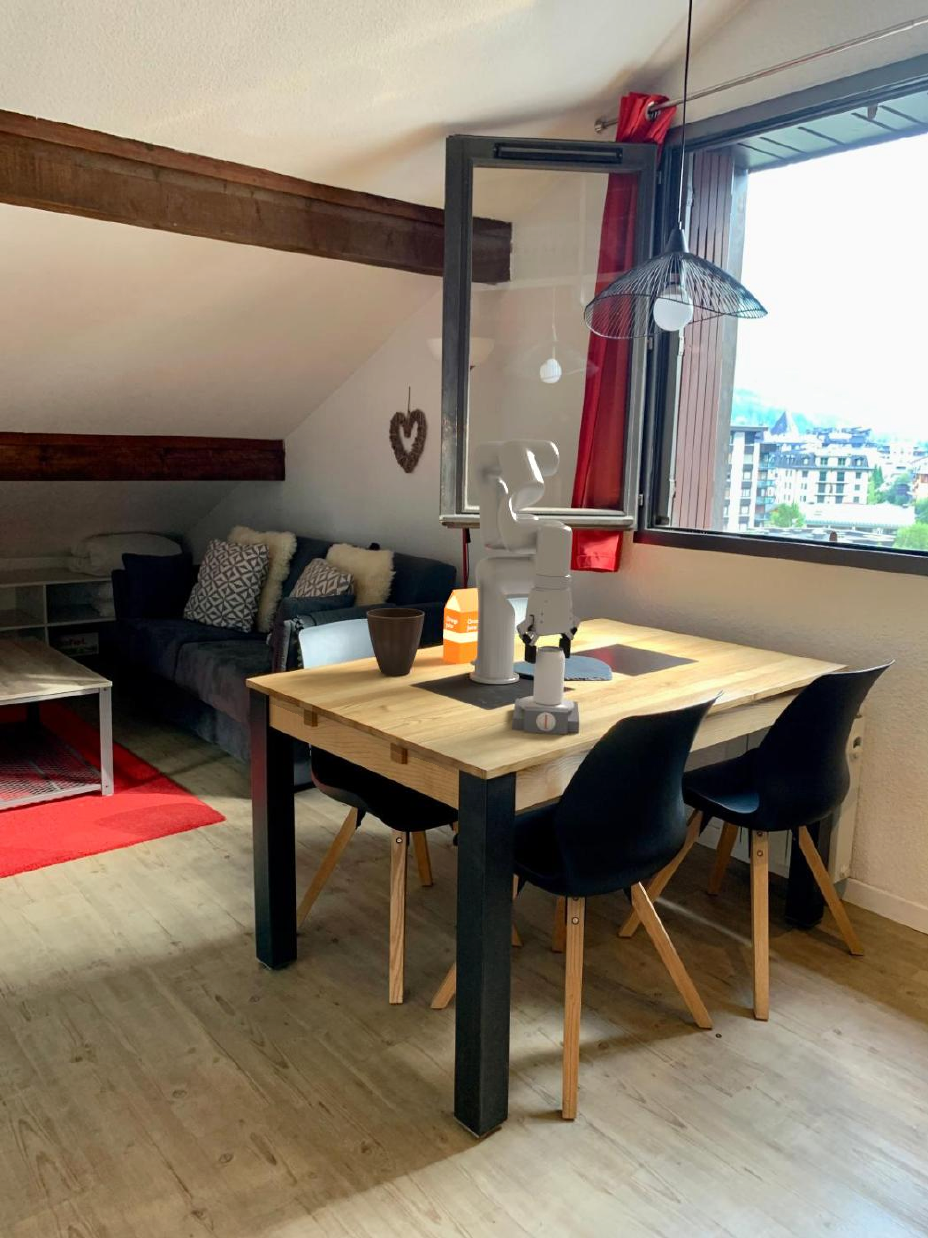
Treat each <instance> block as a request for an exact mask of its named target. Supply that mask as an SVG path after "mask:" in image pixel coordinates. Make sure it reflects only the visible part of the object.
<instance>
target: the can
mask: <svg viewBox="0 0 928 1238" xmlns="http://www.w3.org/2000/svg"><path fill="white" fill-rule="evenodd" d="M565 662H566V658H565V655H564V653H563V648H560V647H559V646H555V645H554V646H553V645H543V646H542V645H541V646H537V653H536V663H535V664H534V669H533V670H534V672H533V673H534V674H533V675H534V676H533V695H532V696H533V700H534V701H535V703H537V704H540V705H546V706H555V705H559V704H561V703H562V702H563V698H564V685H565V665H566V664H565Z"/></svg>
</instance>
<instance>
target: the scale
mask: <svg viewBox="0 0 928 1238" xmlns="http://www.w3.org/2000/svg"><path fill="white" fill-rule="evenodd" d="M511 725H512V727H511V728H512V730H523V733H527V734H530V733H531V734H544V735H545V734H546V735H562V734H567V735H568V733H580V714H579V702H578V701H572V700H570V699H567V698H566V697H563V702H562V703H561V704H559V705H555V706H546V705H540V704H537V703H535V701H534V700H533V695H530V696H526V697H522V698H515V701H514V709H513V715H512V724H511Z"/></svg>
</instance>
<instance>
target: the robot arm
mask: <svg viewBox="0 0 928 1238" xmlns="http://www.w3.org/2000/svg"><path fill="white" fill-rule="evenodd" d="M470 460H471V461H470V462H471V463H470V464H471V465H470V469H471V474H472V478H473V480H474V481H473V482H474V485H475V487H476V490H477V495H478V500H479V501H478V506H479V508H478V509H479V511H478V512H479V533H480V534H479V535H480V542H481V545H482V547H483V548H484V549H485V550H487V551H493V552H495V551H497V552H509V553H512V554H517V555H518V556H513V555H512V556H511V555H495V556H494V555H493V556H486V557H484V558H482V559H481V560H480V561H478V562H477V564H476V566H475V573H474V574H475V582H476V588H477V592H478V629H477V657H476V658H475V660H471V662H470V663H469V664H470V665H471V666H474V670H473V671H471V672H470V673H469V679H470V680H472V681H473V682H476V683H481V684H488V685H508V684H513V683H516V682H518V681H519V680H520V675H519V673H517V672H515V671H514V664H515V663H514V661H515V660H514V659H515V658H514V657H515V635H516V633H515V631H517V633H518V637H519V639H520V640H521V642H522V644H524V656H523V657H524V659H523V660H524V662H526V663H529V664H532V665H535V663H536V653H537V651H538V649H537V648H538V646H537V645H536V643H537V642H538V641H539V639H540V637H547V636H548V637H549V636H556V635H560V636H561V637H559V640H558V647H560V648H563V653H564V655H565V659H570V658H571V647H572V645H571V643H572V641H573V640H574V639H575V637H574V636H575V635H576V634H577V632H578V628H579V626H580V624H581V621H582V619H581V618H580V617H578V616H576V615H575V614H573V598H572V591H571V590H572V589H571V588H570V583H571V582H572V580H573V577H572V575H571V564H572V563H571V561H572V550H573V549H572V546H573V530H572V528H571V526H569V525H565V524H564V523H563V522H561V521H560V520H557V519H540V518H539V517H538V516H536V515H535V514H532V513H519V511H521V510H524V509H526V508H528V507H530V506H532V505H534V504H536V503H538V502H539V501H540V499H542V498H543V496H544V494H545V491H546V485H545V482H544V479H543V477H544V478H545V477H551V476H554V475H555V474H556V473H557V472H558V470H559V466H560V453H559V450H558V448H557V446H556V444H554V443H553V442H552V441H550V440H547V439H529V438H528V439H527V438H526V439H525V438H523V439H522V438H516V439H514V438H513V439H510V440H507V441H506V440H493V441H484V442H480V443H478V444H476V445H475V446H474V448H473V449H472V453H471V459H470ZM502 478H503V479H502ZM517 512H518V513H517ZM519 554H520V555H521V554H522V555H521V556H520V555H519ZM519 594H522V595H524V594H527V595H528V598H527V603H526V609H525V617H524V620H522V621H521V622H520V623H518V624H517V625H516V611H515V607H514V606H513V604H512V603H511V602H510V600H509V599H508V597H507V595H519Z"/></svg>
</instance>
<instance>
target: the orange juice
mask: <svg viewBox="0 0 928 1238" xmlns="http://www.w3.org/2000/svg"><path fill="white" fill-rule="evenodd" d="M443 610H444V611H443V612H444V613H443V636H442V637H443V639H442V640H443V642H442V644H443V646H442V649H443V650H442V659H443V660H444V659H445V660H444V661H447V660H448V661H447V662H450V661H451V662H450V663H454V664H456V665H464V664H470V662H471V660H475V658H476V657H477V629H478V592H477V587H474V588H462V589H453V590H452V592H451V594H450V596H449V598H448V600H447V602H446V603H445V607H444V609H443Z"/></svg>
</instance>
